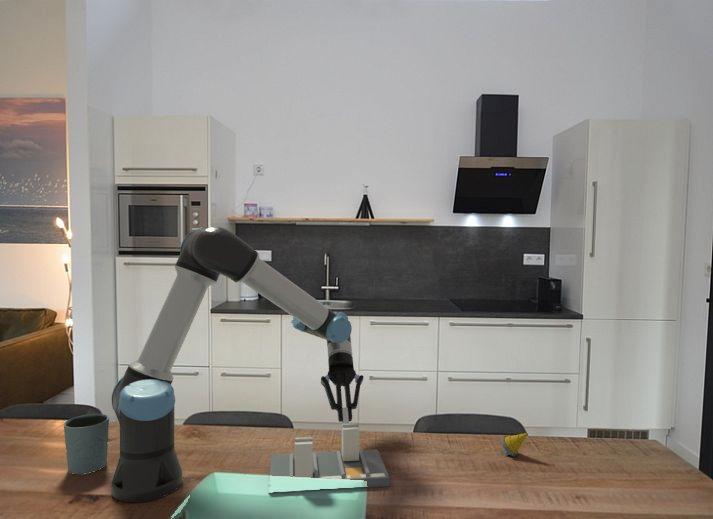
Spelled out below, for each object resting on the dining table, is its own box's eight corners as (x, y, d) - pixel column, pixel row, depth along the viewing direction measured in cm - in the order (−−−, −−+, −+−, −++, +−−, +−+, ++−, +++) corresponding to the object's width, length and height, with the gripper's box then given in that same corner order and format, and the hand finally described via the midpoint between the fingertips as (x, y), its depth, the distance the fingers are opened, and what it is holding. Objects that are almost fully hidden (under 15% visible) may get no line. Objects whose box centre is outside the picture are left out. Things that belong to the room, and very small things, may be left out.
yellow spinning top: (505, 449, 135) (532, 430, 131) (509, 465, 130) (537, 446, 126) (491, 439, 133) (519, 420, 129) (495, 455, 129) (523, 435, 125)
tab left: (294, 478, 111) (295, 441, 110) (294, 470, 114) (294, 435, 114) (312, 477, 111) (312, 441, 111) (311, 469, 115) (312, 434, 115)
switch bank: (268, 493, 108) (268, 479, 108) (271, 462, 124) (271, 450, 124) (389, 486, 112) (389, 472, 112) (377, 456, 128) (377, 444, 128)
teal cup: (89, 478, 115) (89, 429, 115) (53, 474, 117) (53, 425, 117) (118, 460, 125) (118, 414, 125) (84, 456, 127) (84, 411, 127)
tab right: (343, 461, 120) (343, 427, 120) (341, 454, 124) (341, 421, 124) (359, 460, 120) (359, 426, 120) (357, 453, 124) (357, 420, 124)
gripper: (360, 363, 150) (368, 436, 134) (318, 364, 149) (321, 439, 133) (362, 350, 145) (371, 425, 129) (319, 351, 143) (323, 427, 127)
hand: (346, 432), depth 131 cm, fingers closed
